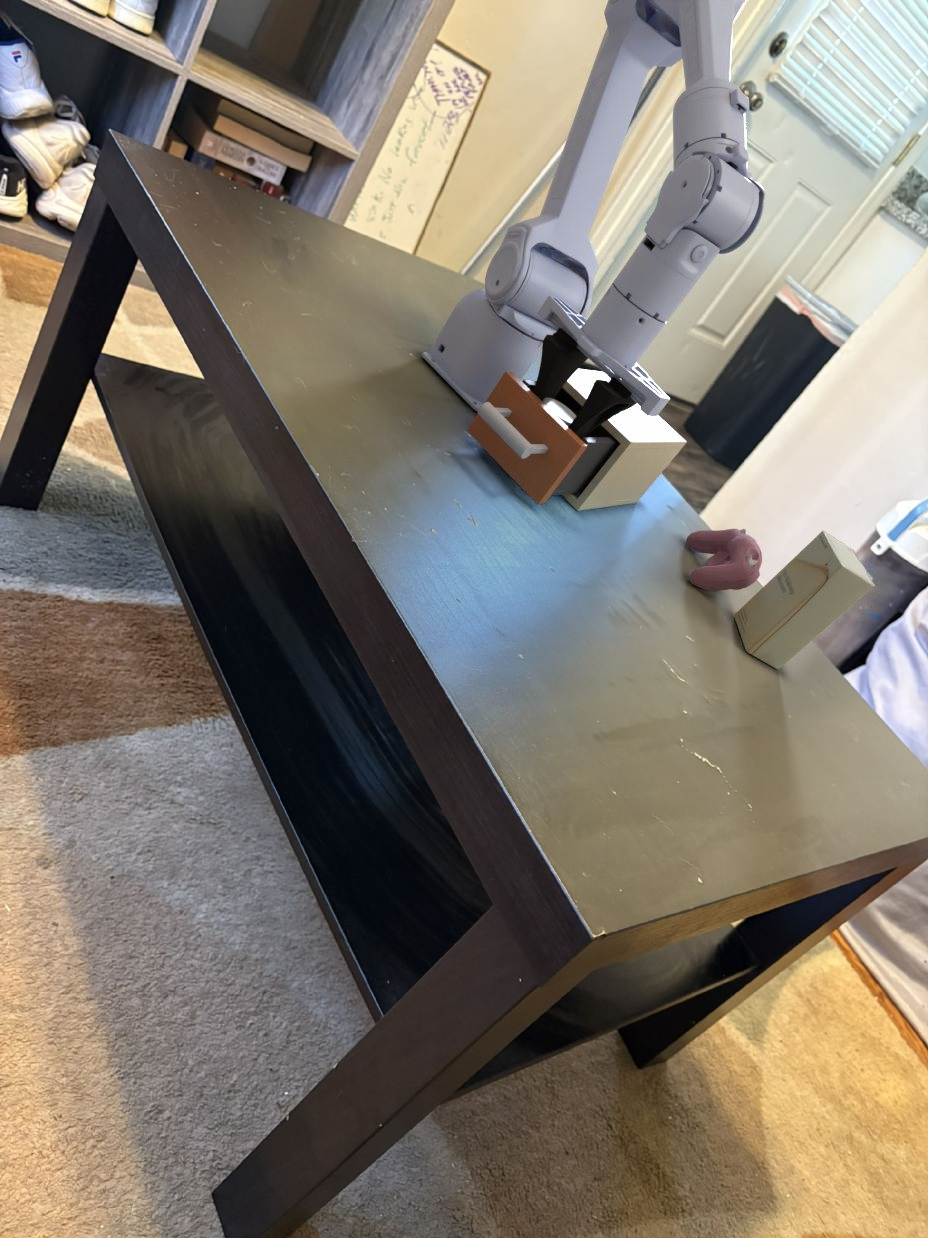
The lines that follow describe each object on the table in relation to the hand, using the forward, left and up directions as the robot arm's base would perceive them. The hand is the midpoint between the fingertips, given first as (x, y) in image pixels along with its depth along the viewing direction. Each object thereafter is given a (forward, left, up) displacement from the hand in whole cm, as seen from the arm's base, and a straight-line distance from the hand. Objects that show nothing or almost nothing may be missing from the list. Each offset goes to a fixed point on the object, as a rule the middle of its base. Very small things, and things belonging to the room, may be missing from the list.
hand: (549, 428), depth 82 cm
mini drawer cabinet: (0, +11, -5) cm, 12 cm away
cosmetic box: (+26, +13, -6) cm, 30 cm away
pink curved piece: (+17, +17, -6) cm, 25 cm away
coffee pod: (0, 0, -1) cm, 1 cm away
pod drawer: (0, 0, -5) cm, 5 cm away
